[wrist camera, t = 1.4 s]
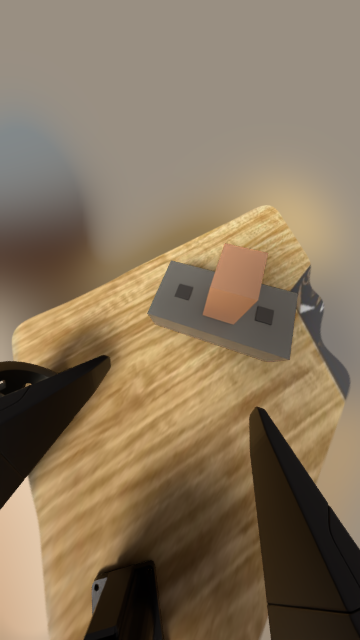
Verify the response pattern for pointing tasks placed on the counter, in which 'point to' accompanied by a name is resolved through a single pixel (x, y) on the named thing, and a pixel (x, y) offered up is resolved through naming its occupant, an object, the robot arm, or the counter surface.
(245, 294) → the plug
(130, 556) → the counter surface
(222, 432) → the counter surface
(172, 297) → the socket block
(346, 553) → the robot arm
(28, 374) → the muzzle brake
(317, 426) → the counter surface
